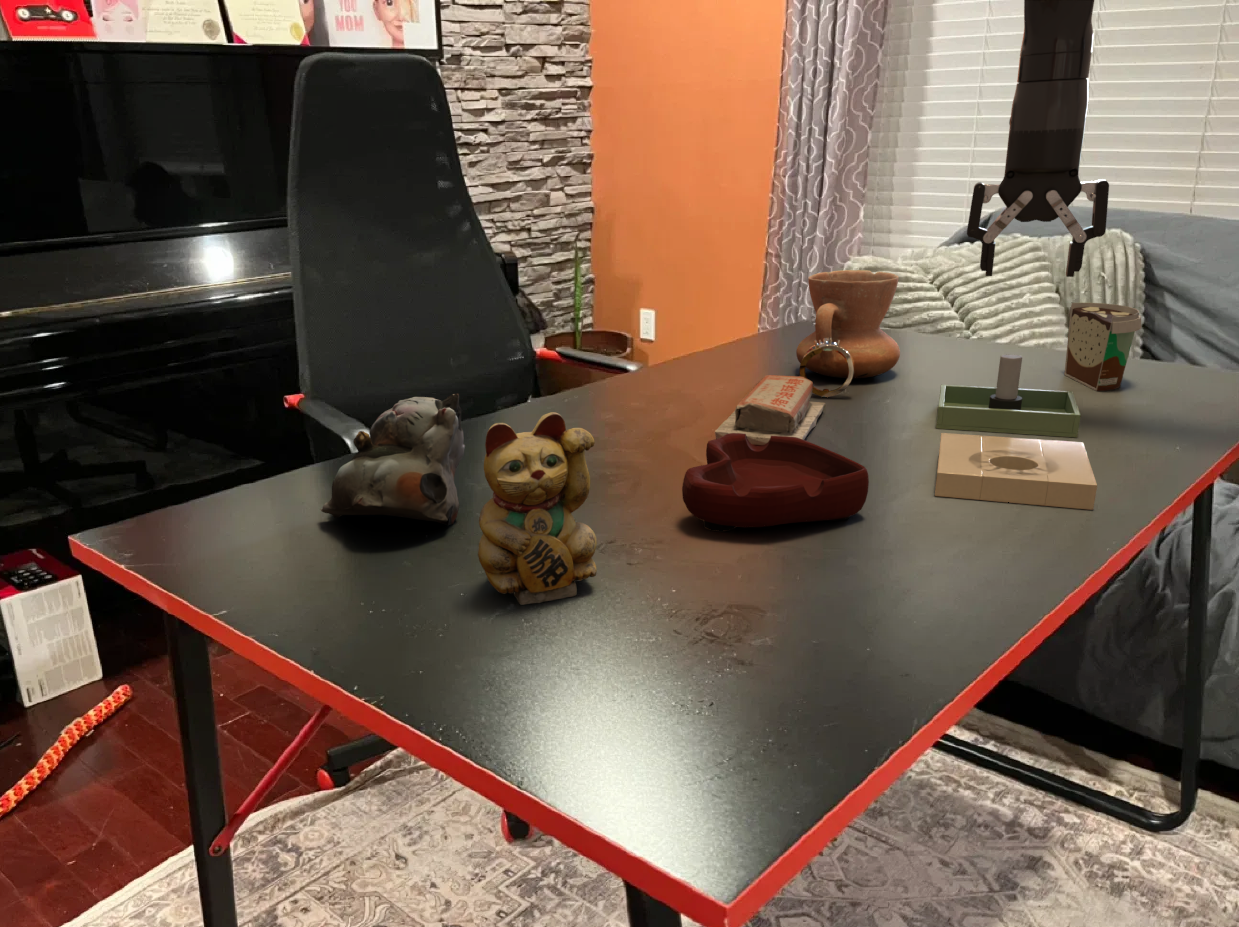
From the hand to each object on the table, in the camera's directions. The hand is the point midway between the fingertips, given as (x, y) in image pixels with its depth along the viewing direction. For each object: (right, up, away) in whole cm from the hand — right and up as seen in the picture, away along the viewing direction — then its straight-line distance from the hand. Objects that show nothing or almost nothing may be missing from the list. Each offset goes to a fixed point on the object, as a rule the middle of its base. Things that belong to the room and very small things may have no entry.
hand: (1028, 275), depth 117 cm
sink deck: (-8, -24, -14) cm, 29 cm away
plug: (0, -16, +6) cm, 17 cm away
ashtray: (-33, -27, -19) cm, 47 cm away
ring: (-18, -12, +19) cm, 29 cm away
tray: (0, -16, +6) cm, 17 cm away
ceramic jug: (-12, -7, +31) cm, 34 cm away
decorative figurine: (-57, -34, -33) cm, 74 cm away
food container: (+20, -10, +22) cm, 31 cm away
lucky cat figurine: (-70, -28, -17) cm, 78 cm away
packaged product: (-28, -17, +7) cm, 34 cm away
